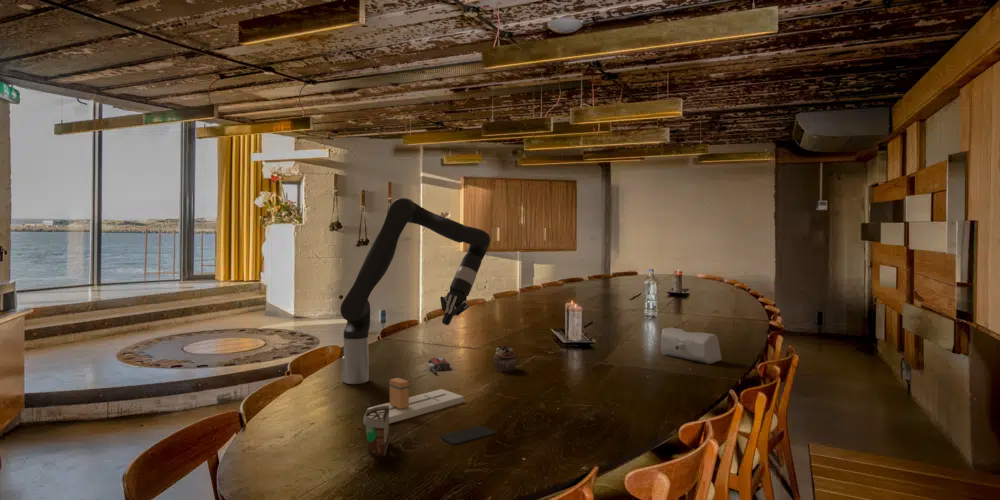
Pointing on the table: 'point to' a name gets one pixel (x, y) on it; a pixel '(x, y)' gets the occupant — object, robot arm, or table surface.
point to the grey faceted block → (690, 345)
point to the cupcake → (504, 359)
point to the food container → (377, 430)
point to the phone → (467, 435)
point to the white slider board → (423, 404)
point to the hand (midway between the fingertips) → (445, 324)
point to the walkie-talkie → (438, 364)
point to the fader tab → (399, 393)
